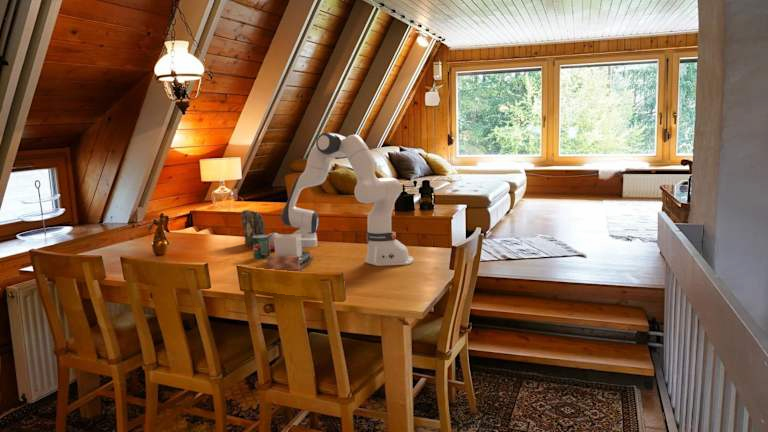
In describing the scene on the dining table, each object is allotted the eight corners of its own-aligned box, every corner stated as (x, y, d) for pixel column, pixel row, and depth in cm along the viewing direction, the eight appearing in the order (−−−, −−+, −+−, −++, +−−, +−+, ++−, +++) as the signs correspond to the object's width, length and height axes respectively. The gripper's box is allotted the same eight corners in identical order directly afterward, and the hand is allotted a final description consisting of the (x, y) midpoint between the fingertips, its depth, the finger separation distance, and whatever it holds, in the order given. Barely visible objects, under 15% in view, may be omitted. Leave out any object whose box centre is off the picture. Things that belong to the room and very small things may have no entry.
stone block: (270, 246, 316) (268, 209, 313) (257, 249, 309) (254, 212, 306) (251, 242, 328) (248, 207, 325) (237, 245, 321) (234, 209, 318)
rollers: (310, 257, 280) (310, 251, 279) (298, 267, 259) (298, 261, 259) (286, 257, 281) (286, 250, 281) (272, 267, 261) (271, 261, 260)
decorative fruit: (279, 251, 302) (278, 232, 300) (264, 251, 302) (262, 232, 301) (284, 247, 311) (283, 229, 309) (269, 247, 312) (268, 229, 310)
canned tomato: (273, 256, 290) (272, 235, 288) (263, 260, 283) (262, 238, 281) (260, 255, 293) (259, 234, 292) (250, 259, 286) (249, 237, 285)
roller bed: (313, 259, 280) (312, 245, 279) (297, 273, 255) (297, 258, 254) (285, 259, 282) (284, 245, 281) (267, 273, 257) (266, 257, 256)
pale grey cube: (302, 255, 269) (300, 234, 267) (297, 259, 261) (295, 237, 259) (281, 255, 270) (279, 234, 268) (275, 259, 262) (274, 237, 261)
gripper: (278, 233, 283) (269, 238, 270) (319, 233, 280) (312, 238, 267) (279, 246, 284) (269, 252, 271) (320, 246, 281) (312, 252, 268)
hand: (291, 245), depth 269 cm, fingers closed, pressing on pale grey cube
